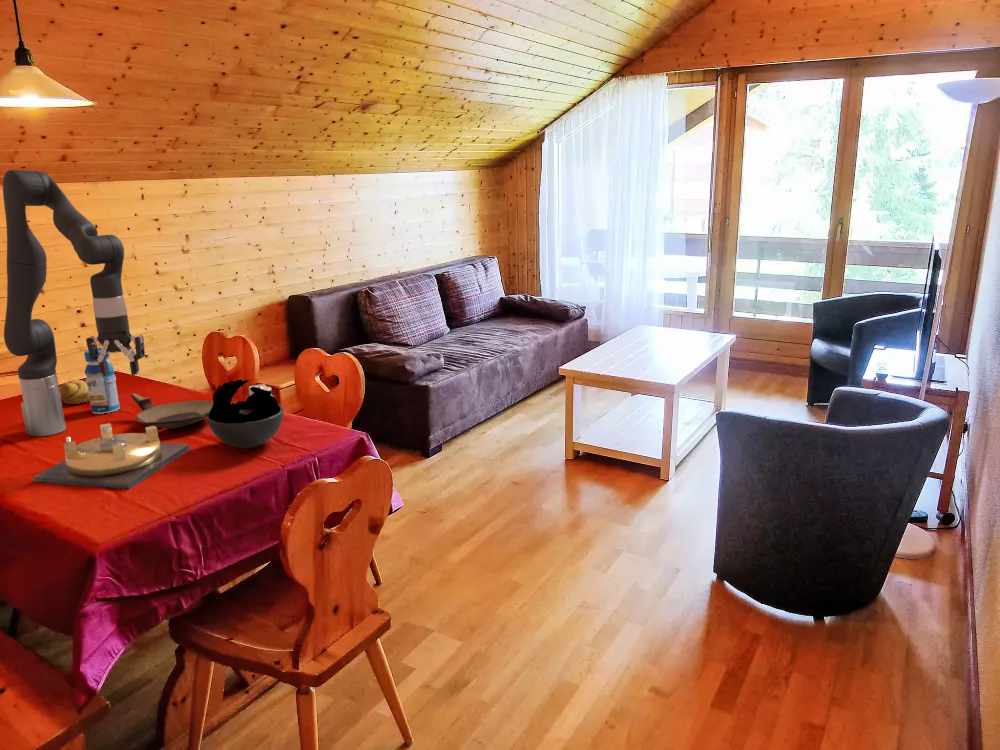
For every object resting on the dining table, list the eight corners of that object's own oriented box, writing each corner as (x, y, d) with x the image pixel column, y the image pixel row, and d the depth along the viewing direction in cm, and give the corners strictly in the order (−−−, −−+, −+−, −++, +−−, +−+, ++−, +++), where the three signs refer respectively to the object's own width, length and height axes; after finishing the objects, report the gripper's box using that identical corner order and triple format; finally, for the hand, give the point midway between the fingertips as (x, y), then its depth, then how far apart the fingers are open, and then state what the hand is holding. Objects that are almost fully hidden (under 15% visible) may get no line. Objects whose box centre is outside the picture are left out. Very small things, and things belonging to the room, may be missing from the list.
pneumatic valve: (260, 429, 217) (256, 390, 214) (250, 418, 226) (246, 381, 223) (279, 426, 220) (275, 387, 216) (268, 415, 229) (264, 378, 226)
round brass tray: (169, 462, 189) (166, 438, 187) (72, 483, 176) (67, 458, 175) (151, 437, 206) (148, 415, 204) (62, 455, 194) (57, 432, 192)
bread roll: (62, 398, 248) (57, 375, 246) (94, 393, 253) (90, 371, 251) (61, 408, 238) (57, 385, 235) (95, 403, 242) (91, 380, 240)
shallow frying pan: (157, 445, 206) (153, 419, 204) (120, 420, 226) (116, 396, 224) (233, 425, 221) (230, 401, 219) (192, 403, 241) (189, 381, 239)
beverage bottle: (123, 411, 234) (114, 350, 229) (94, 416, 229) (84, 354, 224) (116, 404, 241) (107, 345, 235) (88, 410, 235) (78, 349, 230)
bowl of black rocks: (211, 438, 210) (204, 375, 205) (283, 429, 217) (278, 368, 211) (210, 464, 192) (202, 395, 187) (289, 453, 198) (283, 387, 193)
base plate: (34, 482, 181) (28, 454, 179) (105, 444, 206) (101, 419, 204) (129, 489, 177) (124, 460, 175) (190, 449, 202) (186, 423, 200)
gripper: (75, 316, 186) (86, 379, 191) (132, 315, 187) (142, 378, 192) (89, 311, 194) (99, 371, 198) (145, 310, 194) (153, 370, 199)
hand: (120, 374), depth 195 cm, fingers open, 7 cm apart
